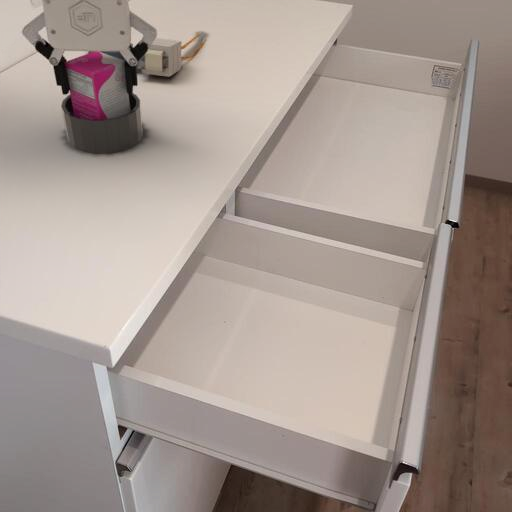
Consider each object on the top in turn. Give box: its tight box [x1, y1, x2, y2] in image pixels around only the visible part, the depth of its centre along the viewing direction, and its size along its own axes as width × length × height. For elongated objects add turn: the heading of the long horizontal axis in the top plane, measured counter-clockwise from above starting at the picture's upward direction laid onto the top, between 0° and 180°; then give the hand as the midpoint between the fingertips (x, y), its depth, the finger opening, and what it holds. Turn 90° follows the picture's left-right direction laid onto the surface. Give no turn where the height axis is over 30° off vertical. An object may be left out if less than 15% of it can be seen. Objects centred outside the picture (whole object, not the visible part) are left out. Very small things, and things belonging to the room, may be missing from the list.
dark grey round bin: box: [61, 92, 144, 155], centre depth 78 cm, size 11×11×6 cm
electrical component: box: [137, 31, 207, 78], centre depth 103 cm, size 24×6×5 cm, turn 168°
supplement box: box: [65, 51, 130, 120], centre depth 76 cm, size 6×6×12 cm
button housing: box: [87, 42, 143, 74], centre depth 100 cm, size 10×8×4 cm
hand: (98, 89), depth 75 cm, fingers closed on supplement box, 8 cm apart
